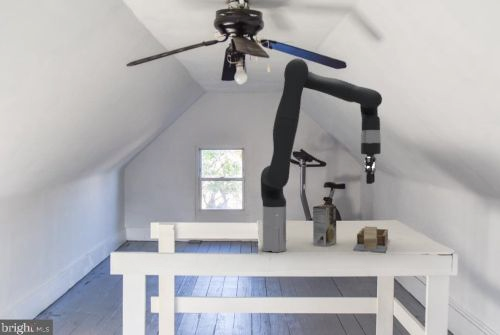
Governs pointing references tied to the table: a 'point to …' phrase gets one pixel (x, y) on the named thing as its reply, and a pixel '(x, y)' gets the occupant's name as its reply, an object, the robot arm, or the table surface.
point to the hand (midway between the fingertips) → (370, 183)
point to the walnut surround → (381, 237)
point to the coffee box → (324, 225)
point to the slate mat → (379, 249)
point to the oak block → (370, 237)
